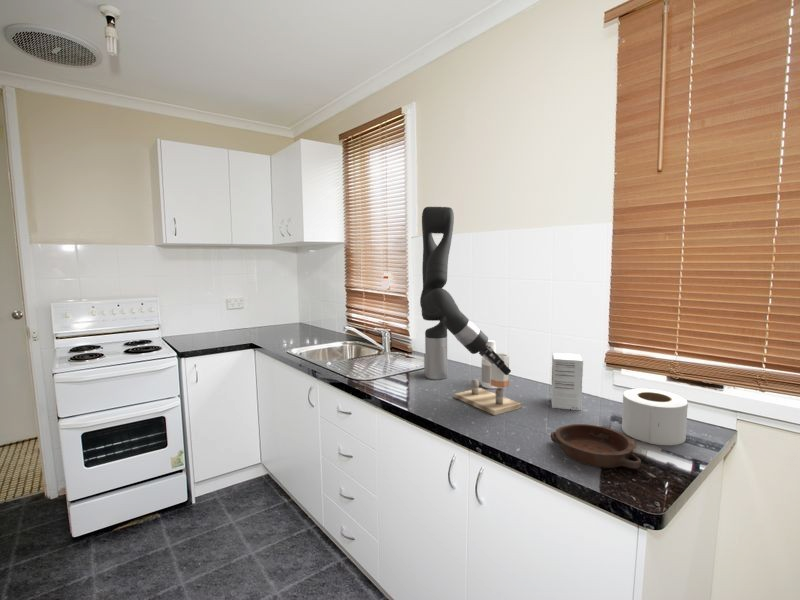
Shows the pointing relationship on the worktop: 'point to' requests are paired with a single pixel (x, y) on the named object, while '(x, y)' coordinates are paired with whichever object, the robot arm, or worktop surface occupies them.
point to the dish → (596, 446)
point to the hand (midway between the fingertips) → (504, 370)
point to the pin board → (487, 399)
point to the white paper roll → (654, 416)
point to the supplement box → (566, 381)
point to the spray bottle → (487, 368)
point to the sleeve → (500, 373)
